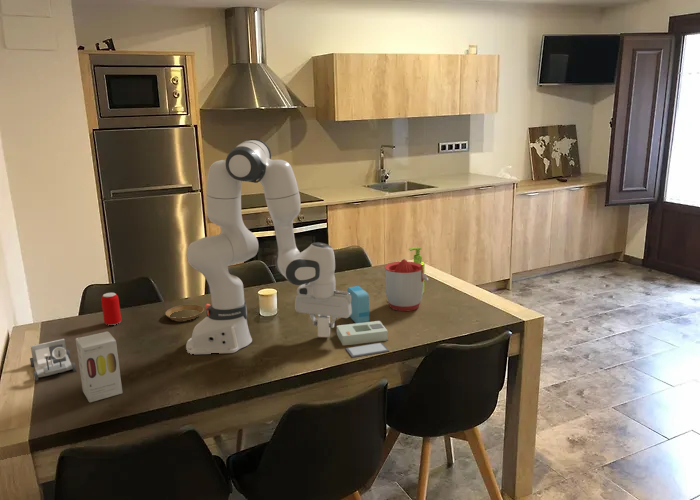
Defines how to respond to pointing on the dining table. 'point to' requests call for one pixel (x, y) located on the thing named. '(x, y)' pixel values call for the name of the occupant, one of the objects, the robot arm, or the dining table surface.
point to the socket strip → (362, 333)
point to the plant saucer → (184, 307)
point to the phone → (367, 349)
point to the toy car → (50, 358)
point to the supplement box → (99, 366)
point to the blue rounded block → (359, 304)
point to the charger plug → (323, 326)
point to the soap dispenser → (418, 259)
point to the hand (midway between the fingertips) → (323, 326)
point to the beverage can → (111, 308)
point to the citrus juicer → (404, 285)
